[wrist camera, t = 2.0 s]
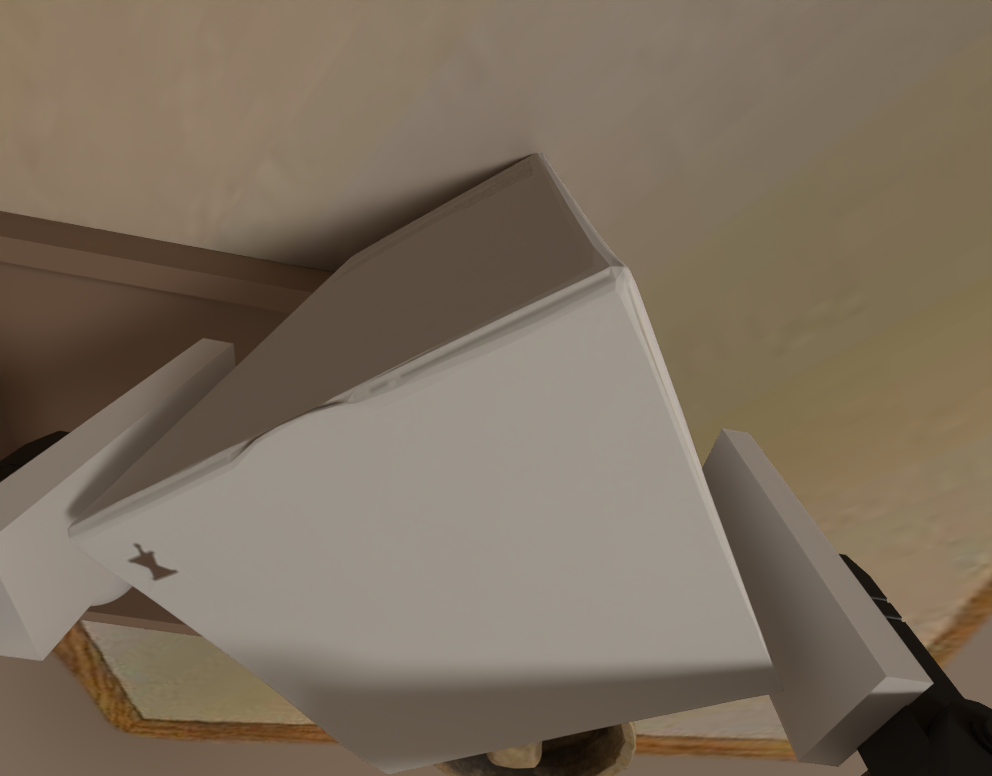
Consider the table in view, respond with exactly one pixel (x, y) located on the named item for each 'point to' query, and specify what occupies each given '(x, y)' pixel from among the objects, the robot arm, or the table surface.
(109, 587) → the ball
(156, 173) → the table surface
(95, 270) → the tray
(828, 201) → the table surface
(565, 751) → the bowl
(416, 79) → the table surface
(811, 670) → the robot arm
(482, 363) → the supplement box
